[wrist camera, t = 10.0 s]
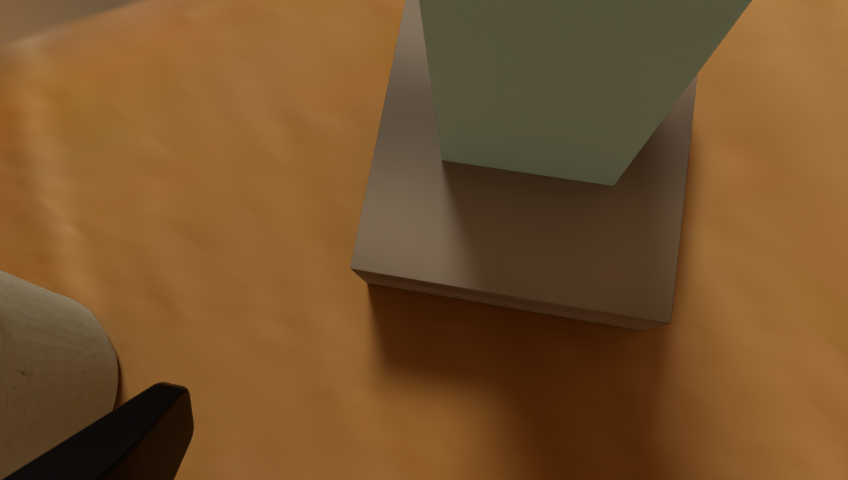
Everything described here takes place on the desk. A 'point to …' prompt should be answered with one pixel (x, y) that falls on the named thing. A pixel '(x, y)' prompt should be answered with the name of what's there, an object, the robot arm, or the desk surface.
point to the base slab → (519, 216)
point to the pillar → (563, 78)
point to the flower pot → (48, 371)
